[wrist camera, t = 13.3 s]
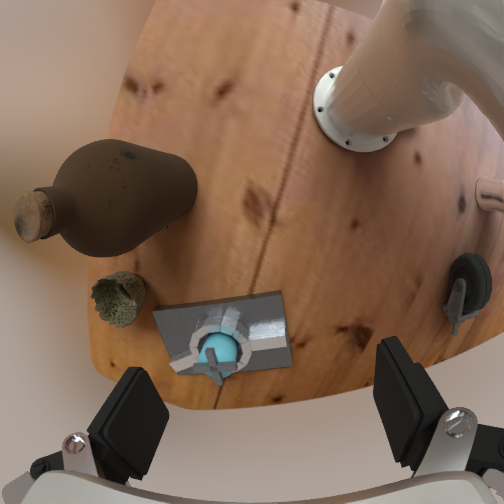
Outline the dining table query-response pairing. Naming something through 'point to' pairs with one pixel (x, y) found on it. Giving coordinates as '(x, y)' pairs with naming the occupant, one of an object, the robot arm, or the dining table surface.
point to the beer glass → (490, 194)
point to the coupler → (217, 357)
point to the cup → (119, 297)
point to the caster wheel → (467, 289)
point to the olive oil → (108, 198)
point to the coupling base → (233, 308)
